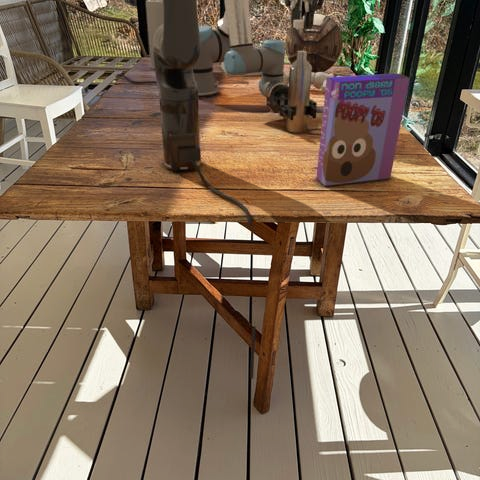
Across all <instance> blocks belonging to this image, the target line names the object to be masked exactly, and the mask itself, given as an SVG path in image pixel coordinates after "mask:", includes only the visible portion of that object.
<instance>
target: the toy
mask: <svg viewBox="0 0 480 480" xmlns="http://www.w3.org/2000/svg"><path fill="white" fill-rule="evenodd" d="M289 72H290V71H286V72H285V73H283V75H284V76H283V83H284V84H286V85H287V86H288V87H289ZM341 76H342V75H336V77H341ZM327 77H335V74H334V72H333V71H329V72H328V73H327V72H317V73H314V72H313V73H312V76H311V86H313V87H314V88H315V89H318V90H320V92H321V93H325V90H326V80H327Z"/></svg>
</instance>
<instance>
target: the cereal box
mask: <svg viewBox="0 0 480 480" xmlns="http://www.w3.org/2000/svg"><path fill="white" fill-rule="evenodd" d="M340 76H341V77H337V76H334V77H327V80H326V90H325V92H324V100H323V108H322V109H323V110H322V120H321V129H320V130H321V132H320V139H319V140H320V141H319V147H318V148H319V149H318V156H317V157H318V158H317V167H316V176H315V178H316V180H317V181H318V182H319V183H320V184H321V185H322V186H324V187H333V186H340V185H349V184H359V183H367V182H376V181H383V180H390V179H391V178H392V172H393V166H394V163H395V162H394V161H395V156H396V150H397V145H398V140H399V135H400V130H401V125H402V119H403V114H404V108H405V105H406V104H405V103H406V99H407V93H408V88H409V83H410V77H409V76H407V75H405V74H402V73H381V74H380V73H379V74H378V73H377V74H360V75H344V76H343V75H340Z"/></svg>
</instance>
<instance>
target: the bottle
mask: <svg viewBox="0 0 480 480" xmlns="http://www.w3.org/2000/svg"><path fill="white" fill-rule="evenodd" d="M306 57H307V51H297V60H296V61H295V62H294V63H292V64H290V66H289V71H288V72H289V84H288V87H289V90H288V106H289V107H290V108H291V109H292V110H293V111H294V115H293V120H290V119H289V118H288V117H287V116H286V125H285V127H286V131H287V132H289V133H295V134H302V133H305V132H307V131H308V123H309V115H308V114H309V101H310V99H311V88H312V87H311V86H312V85H311V76H312V67H311V65H310V64H309V62H307V60H306Z"/></svg>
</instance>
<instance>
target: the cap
mask: <svg viewBox="0 0 480 480" xmlns="http://www.w3.org/2000/svg"><path fill="white" fill-rule="evenodd" d="M293 27H294V28H304V19H296V20H294V22H293Z"/></svg>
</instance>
